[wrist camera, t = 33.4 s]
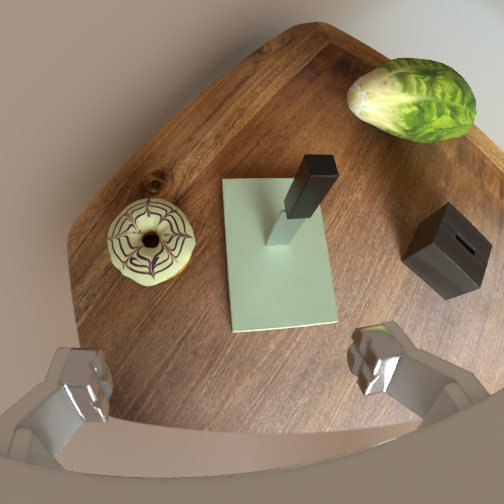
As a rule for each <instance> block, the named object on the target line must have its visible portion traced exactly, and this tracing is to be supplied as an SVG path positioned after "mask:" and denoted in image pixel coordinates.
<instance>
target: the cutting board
mask: <svg viewBox="0 0 504 504" xmlns="http://www.w3.org/2000/svg"><path fill="white" fill-rule="evenodd" d="M293 180H294V178H244V179H222V195H223V212H224V228H225V244H226V258H227V273H228V286H229V299H230V312H231V325H232V332H233V333H234V332H248V331H260V330H272V329H282V328H292V327H302V326H311V325H320V324H328V323H335V322H338V316H337V309H336V301H335V294H334V287H333V280H332V273H331V267H330V261H329V254H328V248H327V242H326V236H325V231H324V225H323V219H322V214H321V209H320V205H319V206H318V208H317V209H316V210H315V212H314V213H313V215H312V216H311V218H306V219H305V221H304V222H303V224H302V225H301V227H300V228H299V230H298V231H297V233H296V234H295V236H294V237H293V239H292V240H291V242H290V243H289V244H287V245H274V246H266V245H265V244H266V242H267V240H268V237H269V235H270V233H271V231H272V229H273V227H274V225H275V223H276V220H277V218H278V216H279V214H280V212H281V210H282V209H285V206H284V199H285V197H286V195H287V193H288V191H289V188H290V186H291V184H292V182H293Z"/></svg>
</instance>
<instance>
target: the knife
mask: <svg viewBox="0 0 504 504" xmlns="http://www.w3.org/2000/svg"><path fill="white" fill-rule="evenodd" d="M338 177H339V174H338V171H337V167H336V163H335V160H334V157H333V155H315V154H305V155H304V158H303V160H302V162H301V164H300V166H299V169H298V171H297V173H296V175H295V177H294V180H293V182H292V184H291V186H290V188H289V191H288V193H287V195H286V197H285V199H284V206H285V209H282V210H281V212H280V214H279V216H278V218H277V220H276V223H275V225H274V227H273V229H272V231H271V233H270V235H269V237H268V240H267V242H266V244H265V245H266V246H274V245H287V244H289V243H290V242H291V240H292V239H293V237H294V236H295V234H296V233H297V231H298V230H299V228H300V227H301V225H302V224H303V222H304V221H305V219H306V218H311V216H312V215H313V213H314V212H315V210H316V209H317V208H318V206H319V205H320V203H321V202H322V200H323V199H324V197H325V196H326V194H327V193H328V191H329V190H330V188H331V187H332V185H333V184H334V183H335V181H336V180H337V178H338Z"/></svg>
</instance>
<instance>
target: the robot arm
mask: <svg viewBox="0 0 504 504" xmlns="http://www.w3.org/2000/svg"><path fill="white" fill-rule="evenodd" d="M351 338H352V339H353V341H354V342H353V343H352V344H351V345H350V347H349V348H348V352H347V363H348V366H349V369H350V371H351V373H353V374H354V375H356V376H358V380H357V384H358V385H359V387H360V389H361V391H362V393H363V395H364V396H367V395H371V394H375V393H380V392H384V391H386V393H387V394H389V395H390V396H391V397H393V398H394V399H396V400H397V401H399V402H400V403H401V404H403V405H404V406H406V407H407V408H409V409H410V410H411V411H413V412H414V413H416V414H417V415H419V416H420V417H421V418H423V420H422V422H421V423H420V425H419V426H418V428H417V430H415V431H412V432H410V433H407V434H404V435H402V436H399V437H396V438H393V439H390V440H388V441H385V442H382V443H379V444H376V445H372V446H369V447H366V448H363V449H360V450H356V451H352V452H349V453H345V454H341V455H337V456H334V457H330V458H325V459H321V460H317V461H313V462H308V463H303V464H298V465H293V466H287V467H282V468H276V469H270V470H263V471H256V472H249V473H240V474H230V475H219V476H206V477H185V478H141V477H120V476H108V475H97V474H88V473H79V472H73V471H66V470H65V469H64V468H63V467H62V466H61V465H60V464H59V463H58V461H57V460H56V459H55V458H56V457H57V455H58V454H59V453H60V452H61V450H62V449H63V448H64V447H65V445H66V444H67V443H68V442H69V440H70V439H71V438H72V437H73V435H74V434H75V433H76V432H77V430H78V429H79V428H80V427H81V425H82V424H83V423H84V422H83V421H88V422H108V415H109V409H110V405H109V403H108V401H107V399H108V398H109V397H110V396H111V395H112V389H113V383H112V375H111V371H110V369H109V367H108V366H107V365H105V364H104V363H105V358H106V357H105V355H104V352H103V350H101V349H92V348H64V347H59V348H58V349H57V350H56V352H55V355H54V357H53V360H52V362H51V365H50V368H49V371H48V373H47V376H46V379H45V381H44V383H40V384H38V385H37V386H36V387H35V388H33V389H32V390H31V391H30V392H29V393H27V394H26V395H25V396H24V397H23V398H21V399H20V400H19V401H18V402H17V403H15V404H14V405H13V406H12V407H10V408H9V409H8V410H7V411H6V412H5V413H3V414H2V415H1V416H0V504H504V388H502V389H501V390H499V391H497V392H495V393H494V394H492V395H490V394H489V393H488V392H487V391H486V389H485V388H484V387H483V385H482V384H481V383H480V382H479V380H478V379H477V378H476V377H475V375H474V374H473V373H471V372H469V371H467V370H465V369H463V368H460V367H458V366H456V365H454V364H452V363H450V362H448V361H446V360H443V359H441V358H439V357H437V356H435V355H433V354H431V353H429V352H427V351H424V350H422V349H417V348H416V347H415V346H414V344H413V343H412V342H411V340H410V339H409V338H408V337H407V335H406V334H405V333H404V332H403V330H402V329H401V328H400V327H399V325H398V324H397V323H396V322H394V321H392V322H387V323H382V324H377V325H372V326H366V327H361V328H356V329H355V330H354V331H353V334H352V337H351Z"/></svg>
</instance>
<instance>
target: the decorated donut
mask: <svg viewBox="0 0 504 504" xmlns="http://www.w3.org/2000/svg"><path fill="white" fill-rule="evenodd" d="M151 234H152V235H156V236H158V237H159V244H158V246H157V247H155V248H150V247H147V248H146V247H145V246H144V244H143V243H142V242H143V239H144V237H145V236H148V235H151ZM195 243H196V242H195V238H194V233H193V229H192V227H191V225H190V224H189V221H188V219H187V218H186V216H185V214H184V213H183V212H182V211H181V210H180V209H178V208H177V207H176V206H175V205H173V204H172V203H170V202H168V201H166V200H164V199H159V198H154V199H153V198H152V199H151V198H147V199H142V200H138V201H135V202H133V203H132V204H130V205H128V206H127V207H126V208H125V209H124V210H123V211H122V212H121V213H120V214H119V215H118V216H117V217H116V218H115V219H114V221H113V222H112V224H111V226H110V228H109V231H108V238H107V245H108V250H109V253H110V255H111V261H112V263H113V265H114V266H115V267H116V268H117V269H118V270H120V271H121V273H122V274H123V275H124V276H127V277H129V278H131V279H133V280H134V281H136V282H137V283H139V284H141V285H144V286H153V285H156V284H158V283H160V282H163V281H166V280H168V279H171V278H173V277H175V276H176V275H178V274H179V273H181V272H182V271H183V270H184V268H185V267H186V266H187V264H188V262H189V260H190V258H191V256H192V252H193V248H194V246H195Z"/></svg>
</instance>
